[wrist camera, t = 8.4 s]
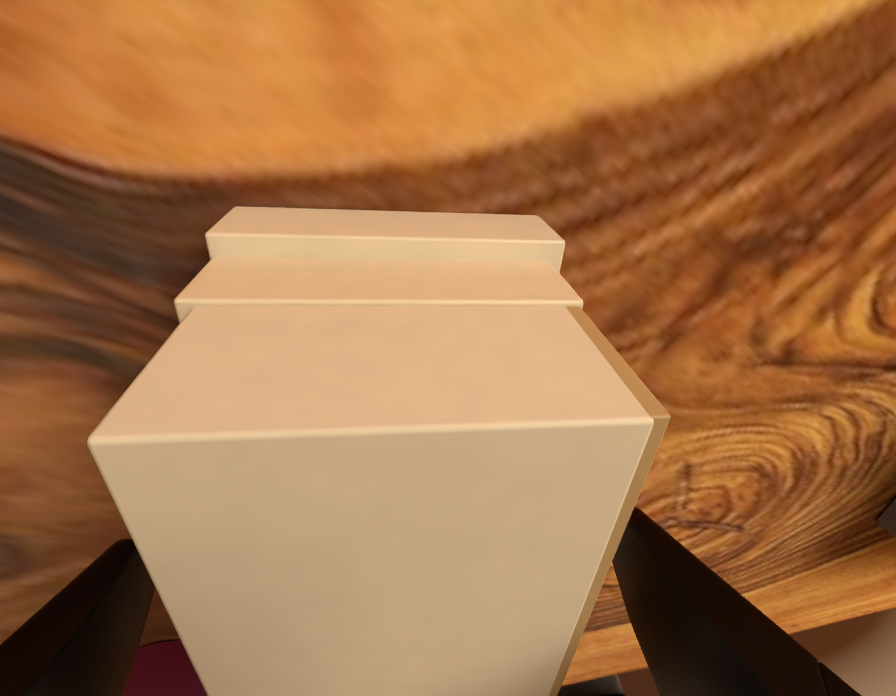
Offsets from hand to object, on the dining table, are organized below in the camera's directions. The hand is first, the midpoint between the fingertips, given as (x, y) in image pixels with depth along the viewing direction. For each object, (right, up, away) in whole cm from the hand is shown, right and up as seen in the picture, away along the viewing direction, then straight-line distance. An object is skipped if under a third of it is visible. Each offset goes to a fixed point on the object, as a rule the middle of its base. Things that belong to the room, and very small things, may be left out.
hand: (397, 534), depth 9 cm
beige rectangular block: (0, 0, +1) cm, 1 cm away
